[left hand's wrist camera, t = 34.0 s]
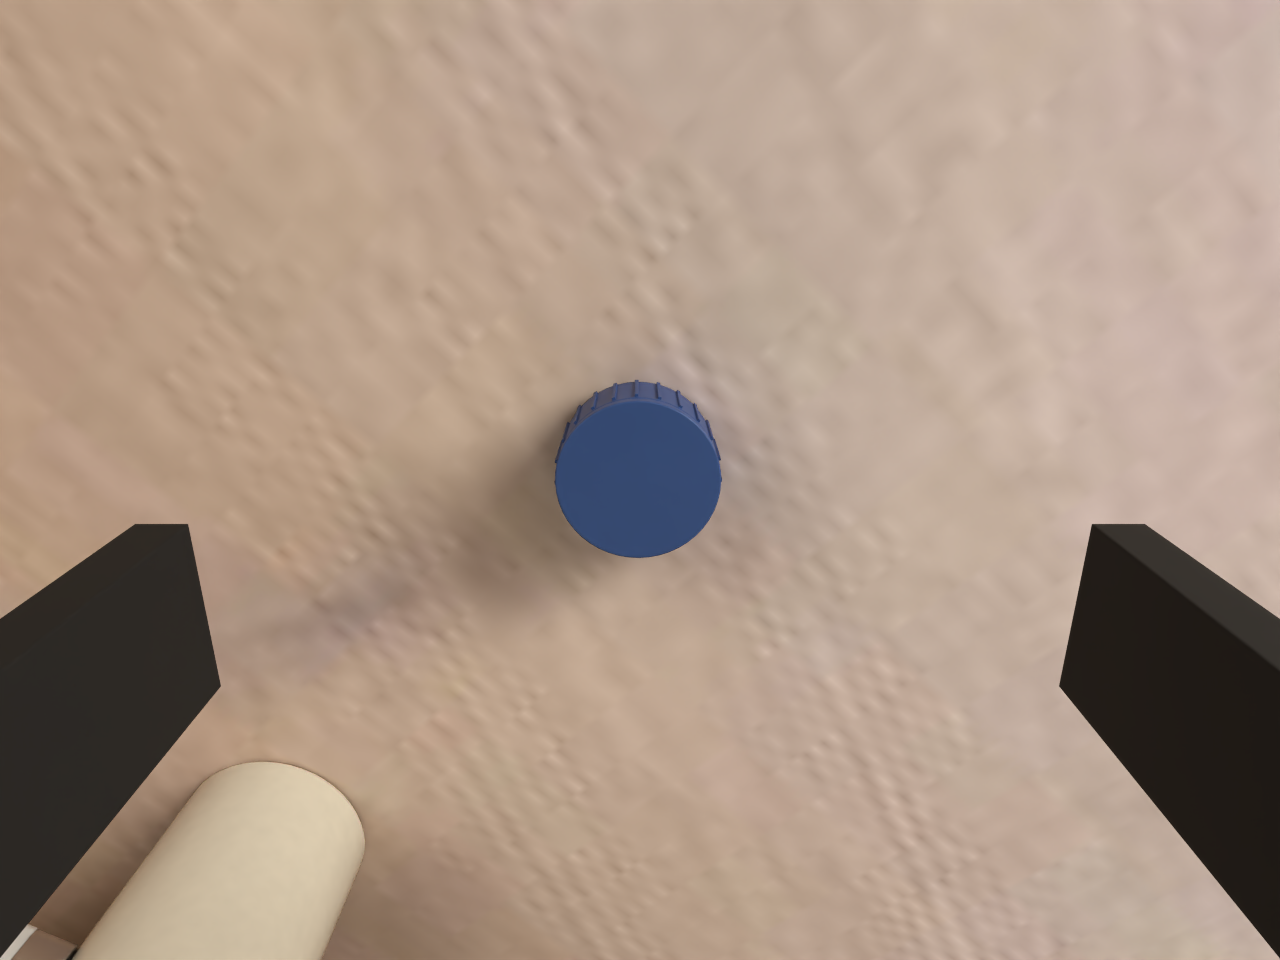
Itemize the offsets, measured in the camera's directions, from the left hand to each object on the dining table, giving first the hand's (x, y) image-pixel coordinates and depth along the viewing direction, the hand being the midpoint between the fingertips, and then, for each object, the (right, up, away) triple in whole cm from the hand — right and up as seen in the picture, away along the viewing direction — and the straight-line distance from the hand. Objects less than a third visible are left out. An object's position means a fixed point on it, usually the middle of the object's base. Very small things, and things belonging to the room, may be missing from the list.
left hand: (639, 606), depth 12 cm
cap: (0, +2, +7) cm, 8 cm away
